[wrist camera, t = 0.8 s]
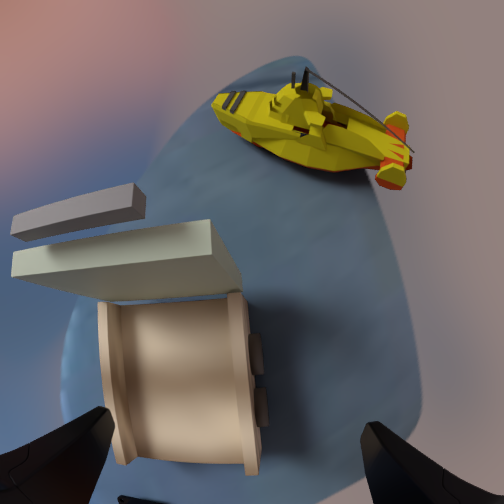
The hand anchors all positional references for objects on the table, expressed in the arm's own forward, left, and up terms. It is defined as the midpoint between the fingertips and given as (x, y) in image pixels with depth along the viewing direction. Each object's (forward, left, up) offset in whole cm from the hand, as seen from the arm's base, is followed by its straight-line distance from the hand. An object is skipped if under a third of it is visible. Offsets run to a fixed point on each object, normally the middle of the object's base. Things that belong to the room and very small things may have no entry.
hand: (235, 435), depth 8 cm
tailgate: (+7, +5, -9) cm, 13 cm away
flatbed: (0, +5, -13) cm, 14 cm away
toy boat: (+19, -7, -13) cm, 24 cm away
